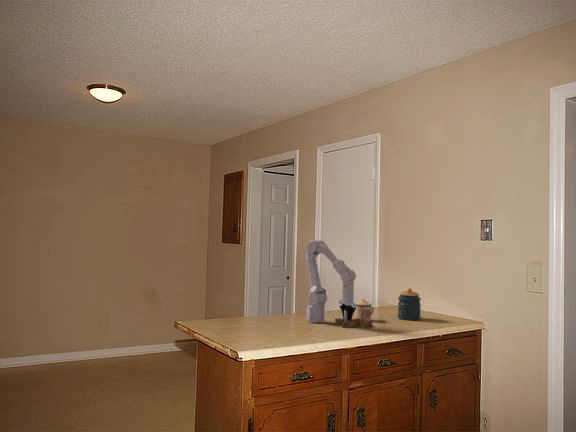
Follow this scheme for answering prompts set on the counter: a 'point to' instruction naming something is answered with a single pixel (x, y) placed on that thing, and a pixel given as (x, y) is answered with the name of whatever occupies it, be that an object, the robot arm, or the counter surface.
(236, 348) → the counter surface
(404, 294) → the canister
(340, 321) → the groove board
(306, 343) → the counter surface
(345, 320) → the peg
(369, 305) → the teacup with lid
